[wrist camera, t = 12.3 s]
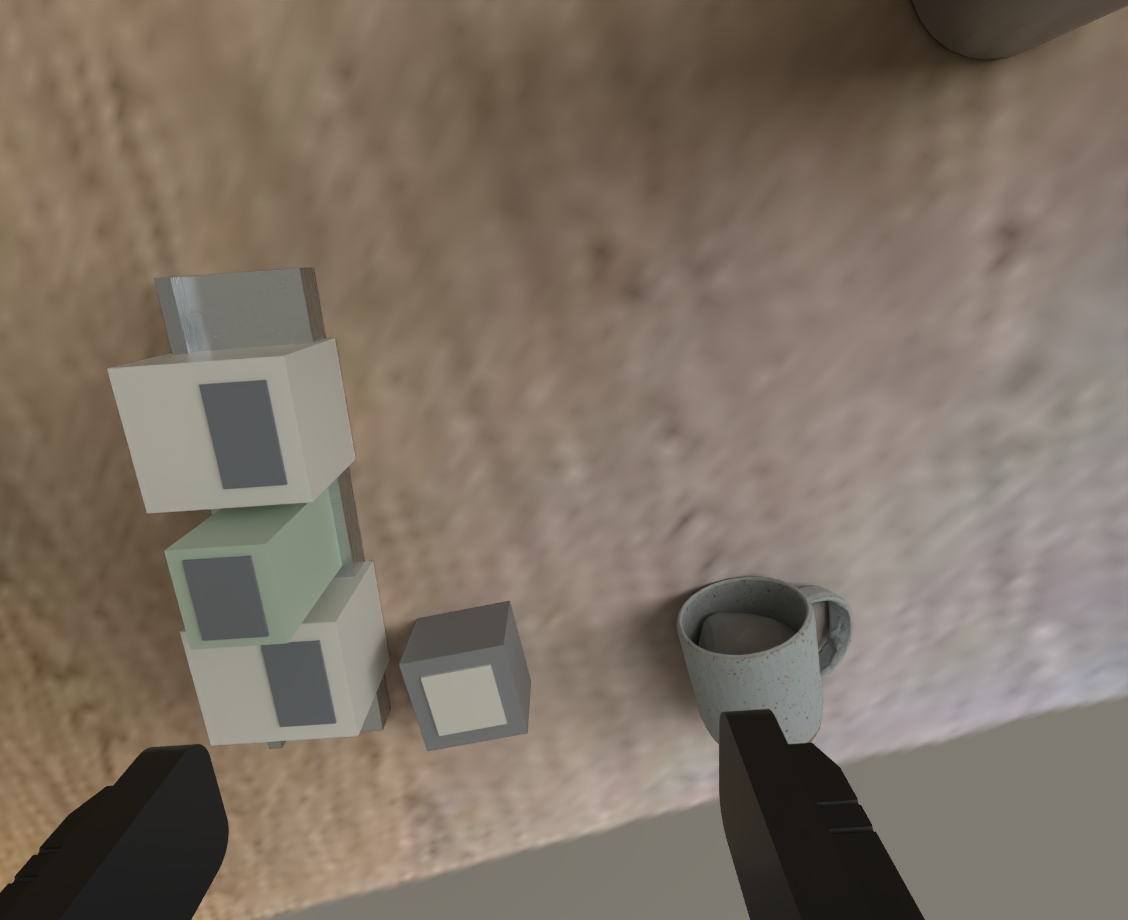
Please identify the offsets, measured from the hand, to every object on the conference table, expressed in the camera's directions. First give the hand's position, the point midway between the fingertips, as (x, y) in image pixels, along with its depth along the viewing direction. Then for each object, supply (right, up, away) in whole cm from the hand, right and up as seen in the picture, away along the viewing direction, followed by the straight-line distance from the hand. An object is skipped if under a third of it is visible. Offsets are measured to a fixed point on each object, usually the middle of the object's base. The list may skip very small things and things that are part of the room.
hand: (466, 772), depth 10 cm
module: (-14, +1, +27) cm, 30 cm away
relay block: (-4, -7, +32) cm, 33 cm away
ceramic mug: (+14, -5, +32) cm, 35 cm away
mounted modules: (-14, +2, +29) cm, 32 cm away
